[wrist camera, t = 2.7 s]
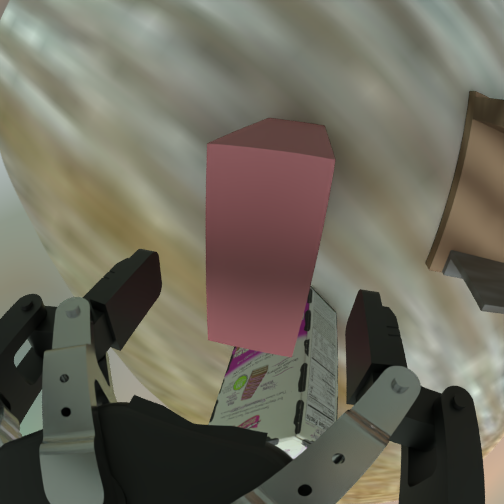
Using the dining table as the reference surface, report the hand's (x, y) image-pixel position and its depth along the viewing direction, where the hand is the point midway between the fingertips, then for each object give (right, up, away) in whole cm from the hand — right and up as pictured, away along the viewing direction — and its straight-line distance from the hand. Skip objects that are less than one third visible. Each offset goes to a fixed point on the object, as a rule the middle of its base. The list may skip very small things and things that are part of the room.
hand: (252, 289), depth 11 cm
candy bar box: (+4, -6, +21) cm, 22 cm away
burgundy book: (+3, +7, +13) cm, 15 cm away
